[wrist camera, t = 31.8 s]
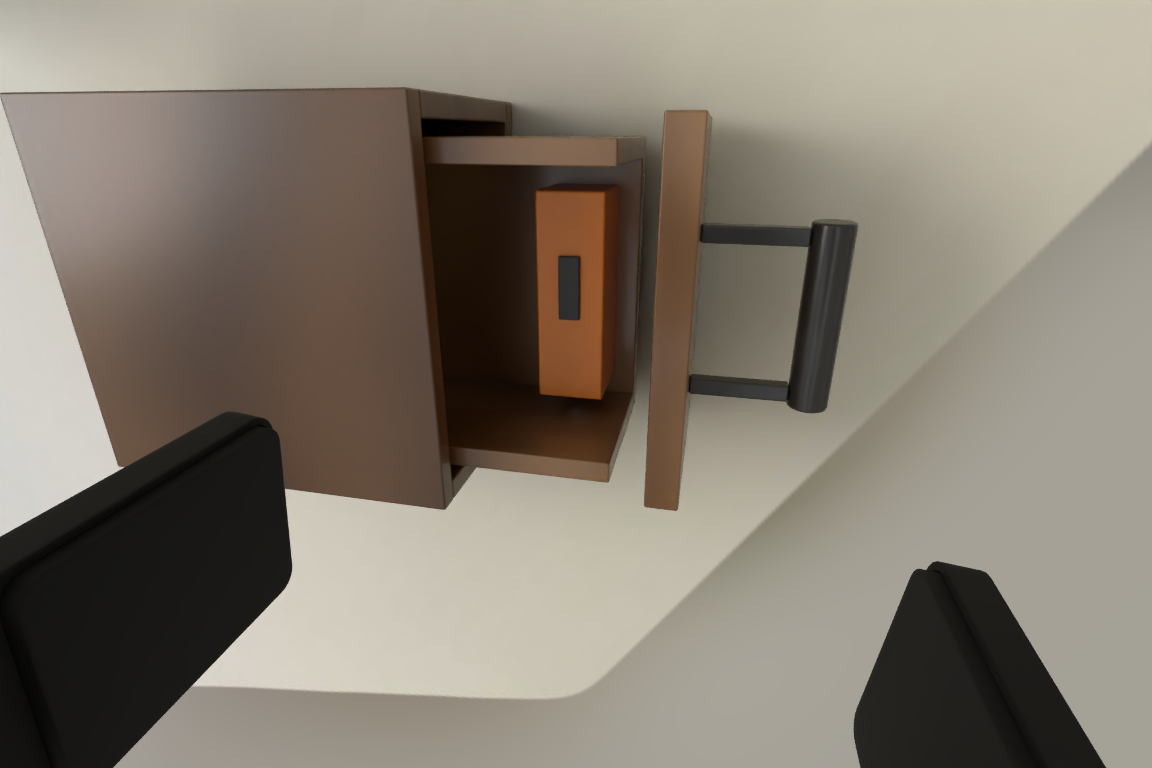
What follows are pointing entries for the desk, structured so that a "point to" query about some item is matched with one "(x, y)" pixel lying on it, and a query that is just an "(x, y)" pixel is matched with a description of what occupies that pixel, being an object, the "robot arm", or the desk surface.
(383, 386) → the cabinet
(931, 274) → the desk surface
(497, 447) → the drawer
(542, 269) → the orange block with switch
